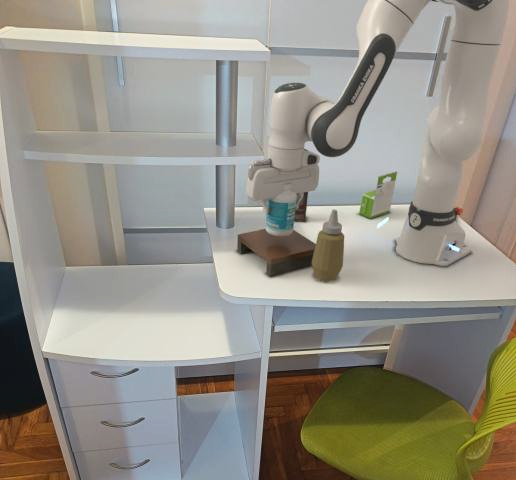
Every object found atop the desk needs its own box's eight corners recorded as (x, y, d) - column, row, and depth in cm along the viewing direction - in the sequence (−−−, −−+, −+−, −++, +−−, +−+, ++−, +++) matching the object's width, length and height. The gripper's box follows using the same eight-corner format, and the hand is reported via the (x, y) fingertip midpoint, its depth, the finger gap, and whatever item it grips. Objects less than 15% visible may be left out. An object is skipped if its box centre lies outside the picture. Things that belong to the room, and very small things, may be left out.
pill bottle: (290, 239, 132) (295, 188, 124) (263, 235, 133) (265, 184, 125) (294, 228, 138) (299, 178, 130) (268, 224, 139) (271, 175, 131)
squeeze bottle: (316, 285, 128) (325, 217, 118) (305, 270, 134) (312, 205, 124) (346, 282, 130) (357, 215, 120) (333, 268, 136) (343, 203, 126)
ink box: (377, 207, 175) (385, 166, 166) (390, 212, 171) (399, 171, 163) (358, 214, 169) (365, 172, 161) (370, 219, 166) (378, 176, 158)
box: (305, 216, 165) (309, 179, 158) (305, 222, 161) (309, 184, 154) (287, 215, 165) (290, 178, 158) (286, 220, 162) (289, 183, 155)
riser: (284, 240, 149) (285, 224, 146) (319, 264, 138) (321, 247, 135) (237, 251, 142) (237, 234, 139) (270, 277, 131) (271, 259, 128)
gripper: (256, 165, 117) (253, 222, 125) (325, 155, 127) (318, 209, 135) (242, 158, 121) (240, 213, 130) (310, 149, 131) (304, 201, 139)
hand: (281, 211), depth 132 cm, fingers closed on pill bottle, 7 cm apart
